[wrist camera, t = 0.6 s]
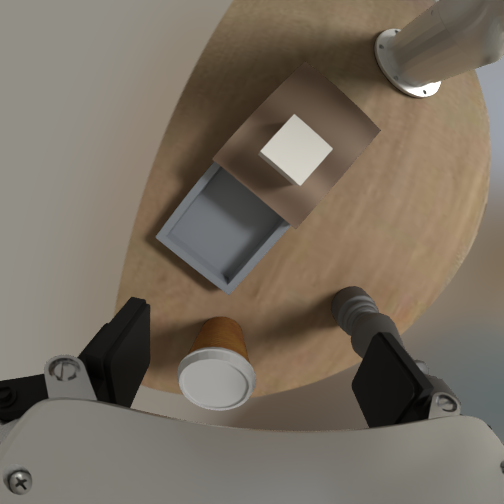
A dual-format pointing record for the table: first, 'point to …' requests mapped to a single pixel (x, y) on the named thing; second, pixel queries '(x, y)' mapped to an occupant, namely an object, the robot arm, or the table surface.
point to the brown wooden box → (320, 121)
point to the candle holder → (371, 327)
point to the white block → (295, 151)
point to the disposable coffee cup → (217, 367)
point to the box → (222, 228)
